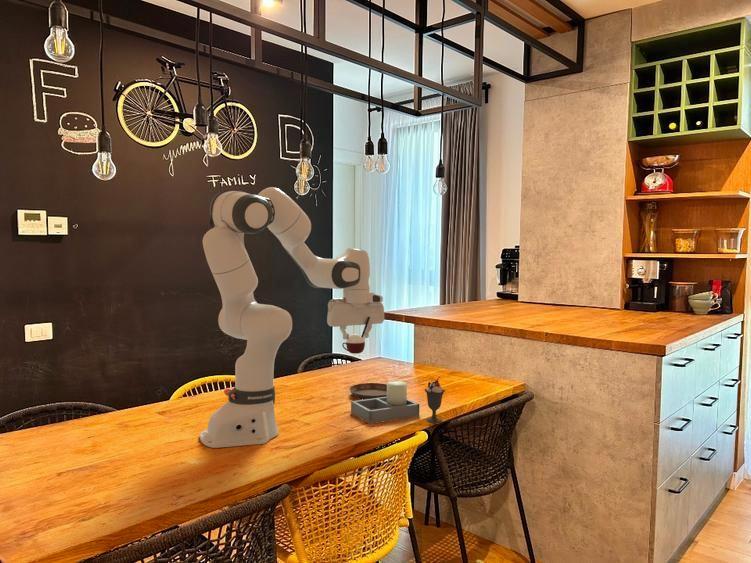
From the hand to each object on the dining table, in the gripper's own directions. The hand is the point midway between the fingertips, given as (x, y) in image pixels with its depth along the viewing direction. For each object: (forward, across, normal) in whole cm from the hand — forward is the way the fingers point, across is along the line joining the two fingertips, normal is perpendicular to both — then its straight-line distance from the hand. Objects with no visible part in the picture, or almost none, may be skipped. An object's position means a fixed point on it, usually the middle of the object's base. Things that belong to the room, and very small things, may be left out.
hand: (355, 338), depth 188 cm
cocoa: (+5, 0, 0) cm, 5 cm away
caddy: (+26, +8, -6) cm, 28 cm away
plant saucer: (+26, +16, +17) cm, 35 cm away
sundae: (+26, +19, -19) cm, 37 cm away
